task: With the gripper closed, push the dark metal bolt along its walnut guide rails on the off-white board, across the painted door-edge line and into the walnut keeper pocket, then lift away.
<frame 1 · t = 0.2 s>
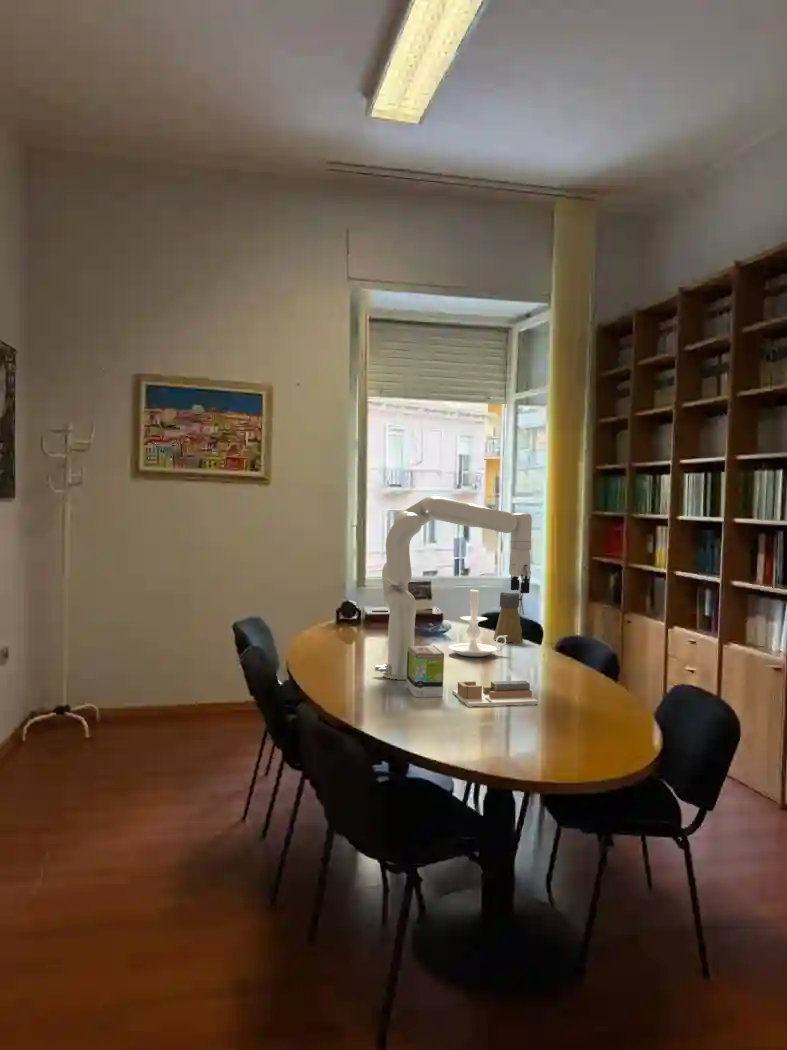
hand: (519, 591, 303), 31 cm above the table, tool pointing down, fingers open, 9 cm apart
lock board: (493, 698, 265), on the table
candlestick: (477, 655, 339), on the table
bolt: (510, 688, 266), point 3 cm above the table, slide at 0.0 cm
tea box: (424, 692, 272), on the table
windmill: (508, 640, 376), on the table
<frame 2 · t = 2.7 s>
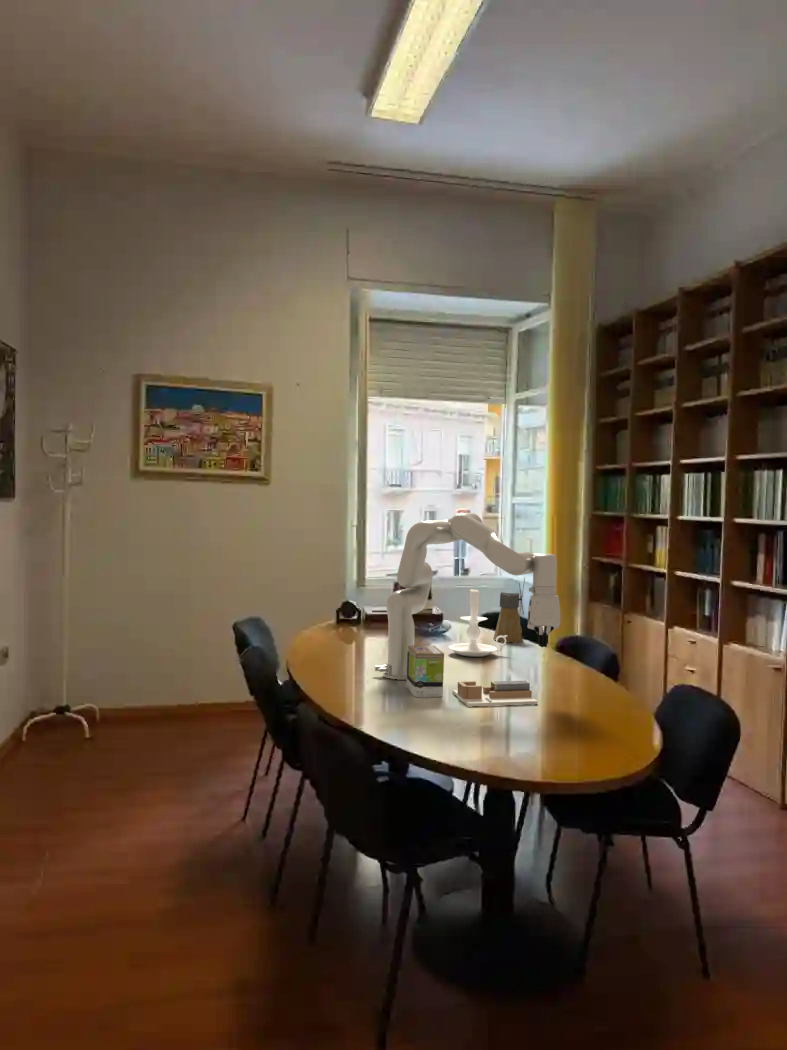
hand: (542, 646, 268), 17 cm above the table, tool pointing down, fingers closed
nothing on the table moved.
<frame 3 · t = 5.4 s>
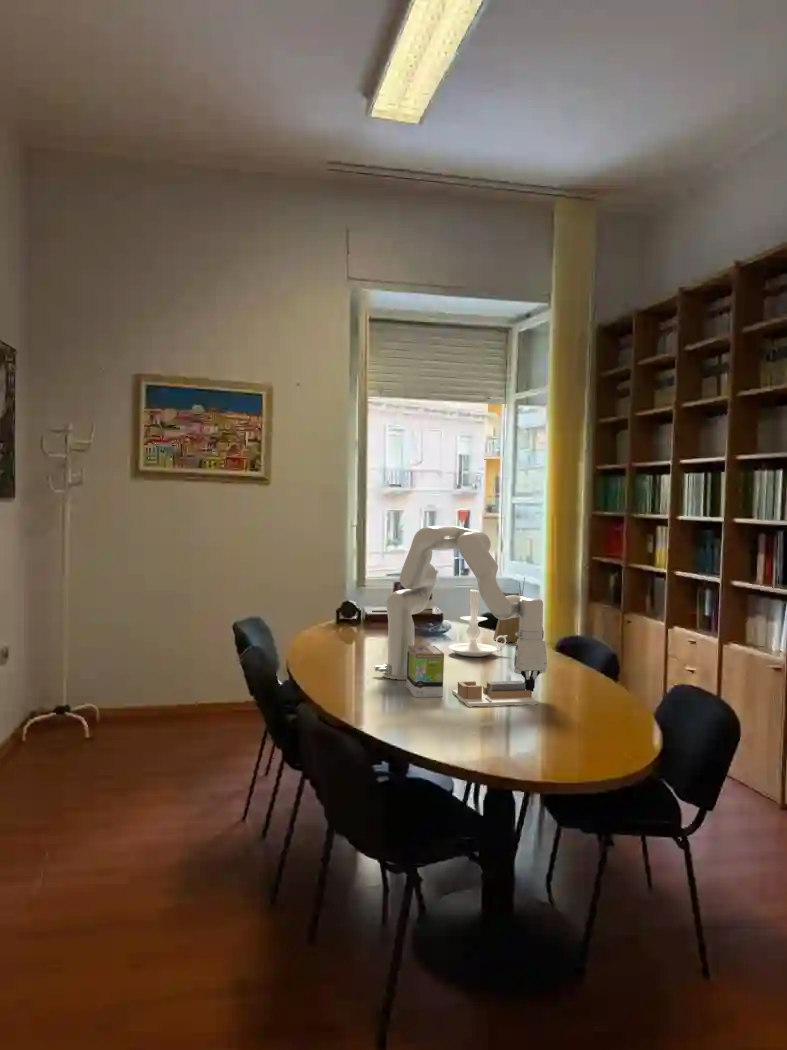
hand: (529, 690, 267), 2 cm above the table, tool pointing down, fingers closed
bolt: (505, 688, 266), point 3 cm above the table, slide at 1.5 cm, touching gripper
everything else where it was.
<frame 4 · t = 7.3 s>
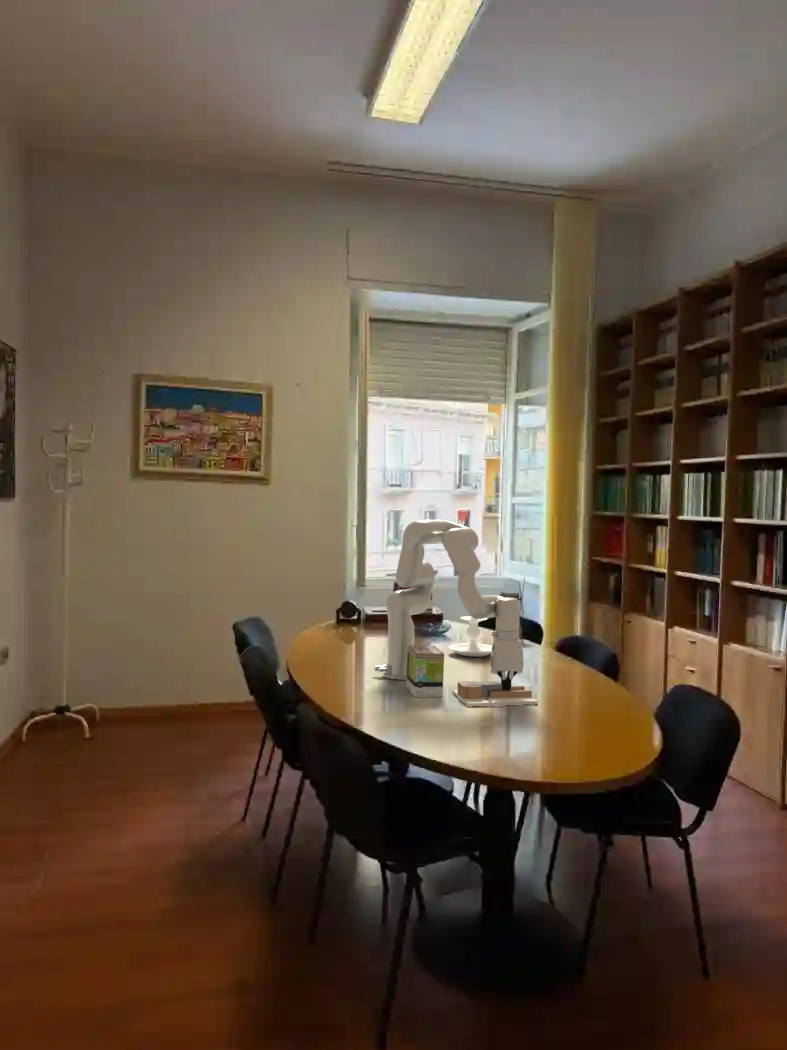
hand: (506, 690, 266), 3 cm above the table, tool pointing down, fingers closed
bolt: (482, 689, 264), point 3 cm above the table, slide at 9.6 cm, touching gripper
everything else where it was.
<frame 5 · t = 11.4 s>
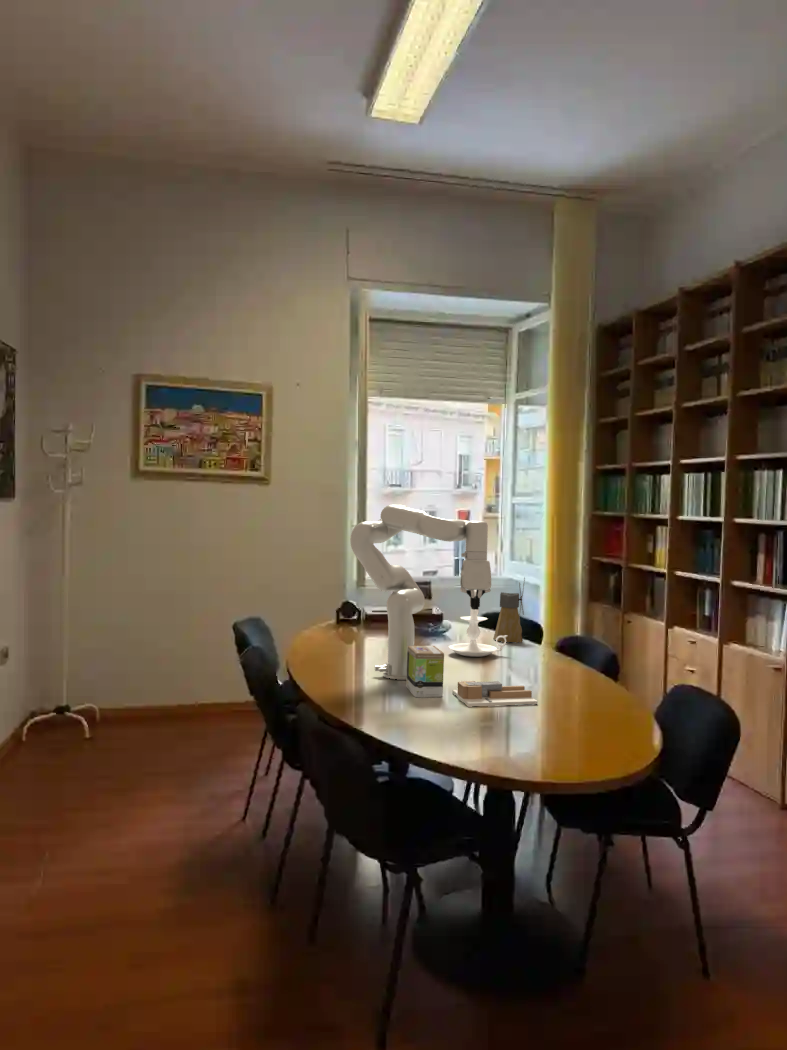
hand: (474, 609, 281), 27 cm above the table, tool pointing down, fingers closed
bolt: (482, 689, 264), point 3 cm above the table, slide at 9.5 cm
everything else where it was.
at the end: bolt slide at 9.5 cm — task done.
